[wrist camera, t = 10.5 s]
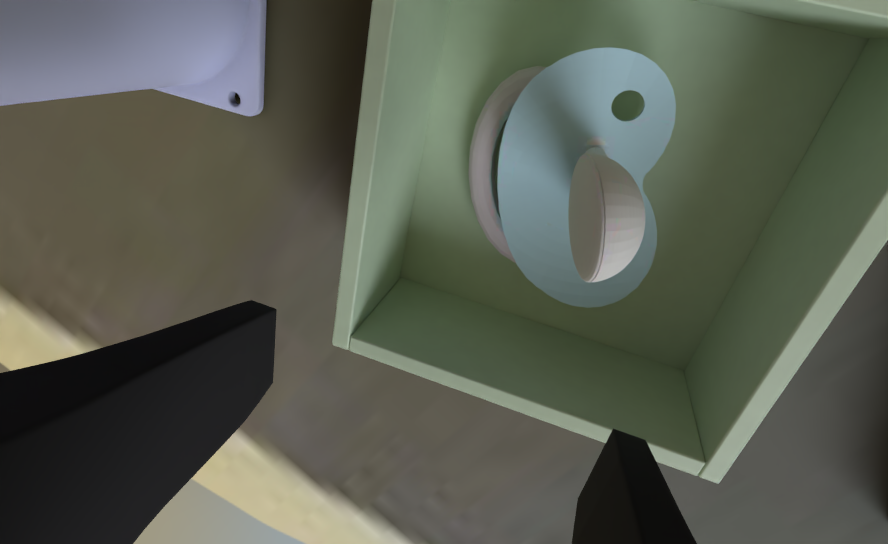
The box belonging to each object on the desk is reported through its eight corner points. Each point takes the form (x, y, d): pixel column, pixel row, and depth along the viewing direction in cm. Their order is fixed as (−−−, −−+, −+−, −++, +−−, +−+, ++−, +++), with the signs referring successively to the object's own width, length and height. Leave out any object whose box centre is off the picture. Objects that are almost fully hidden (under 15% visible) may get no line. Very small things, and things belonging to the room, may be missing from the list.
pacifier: (475, 265, 19) (647, 280, 17) (415, 358, 13) (658, 395, 11) (471, 51, 16) (681, 42, 14) (392, 59, 10) (717, 47, 8)
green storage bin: (389, 278, 20) (330, 344, 16) (450, -73, 15) (385, -121, 10) (691, 378, 19) (719, 485, 14) (895, 18, 13) (1050, 9, 8)
